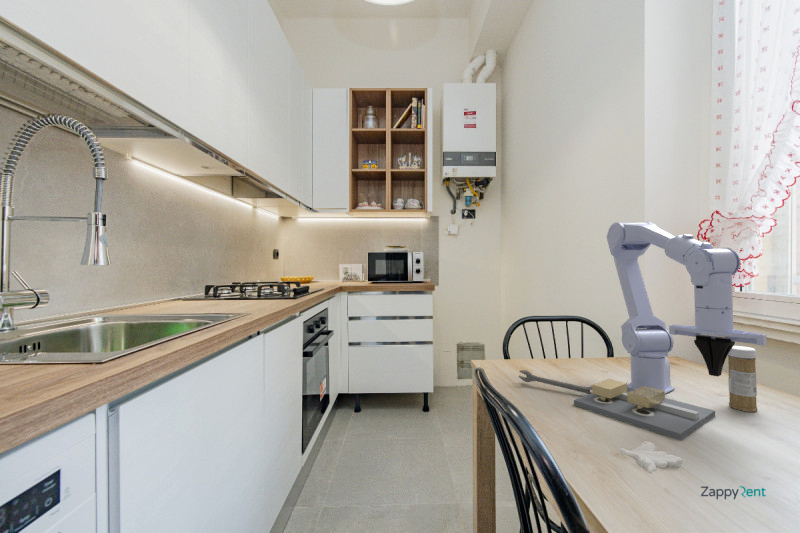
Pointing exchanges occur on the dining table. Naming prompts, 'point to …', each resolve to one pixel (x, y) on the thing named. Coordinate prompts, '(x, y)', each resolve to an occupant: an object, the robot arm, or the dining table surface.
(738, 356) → the sprinkles bottle
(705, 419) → the bolt plate
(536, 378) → the combination wrench
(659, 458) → the acanthus leaf ornament
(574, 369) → the dining table surface
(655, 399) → the block
